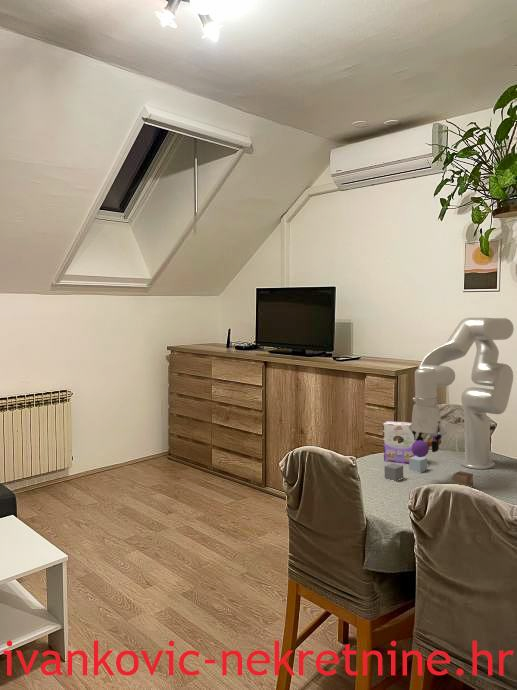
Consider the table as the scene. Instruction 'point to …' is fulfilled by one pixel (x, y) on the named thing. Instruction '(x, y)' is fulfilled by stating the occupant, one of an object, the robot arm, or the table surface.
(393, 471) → the charcoal block
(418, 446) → the kendama
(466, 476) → the walnut block
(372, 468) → the table surface
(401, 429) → the candy box
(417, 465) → the dusty blue block
